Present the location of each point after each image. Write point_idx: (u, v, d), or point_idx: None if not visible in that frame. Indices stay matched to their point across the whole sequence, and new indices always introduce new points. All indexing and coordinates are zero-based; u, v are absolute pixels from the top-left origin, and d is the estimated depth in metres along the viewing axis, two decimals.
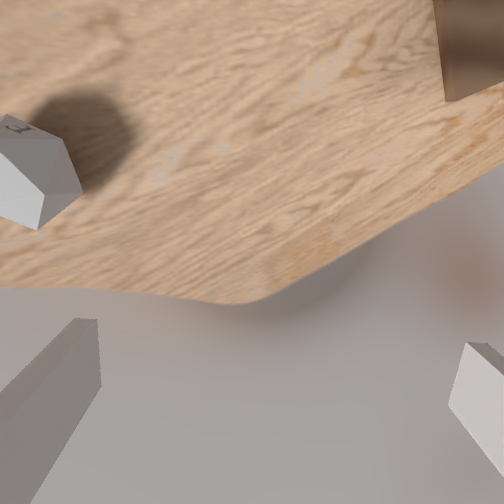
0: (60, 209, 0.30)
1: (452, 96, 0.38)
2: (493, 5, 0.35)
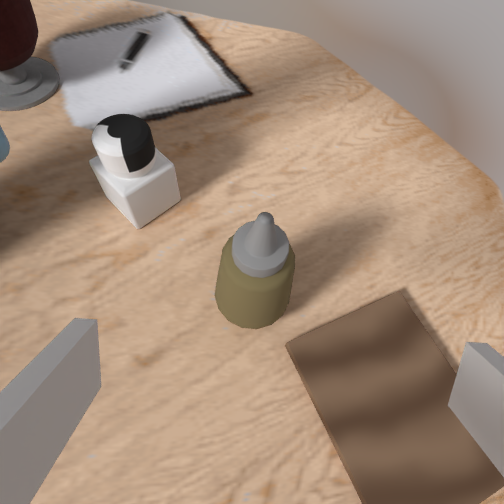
0: None
1: None
2: (394, 438, 0.33)
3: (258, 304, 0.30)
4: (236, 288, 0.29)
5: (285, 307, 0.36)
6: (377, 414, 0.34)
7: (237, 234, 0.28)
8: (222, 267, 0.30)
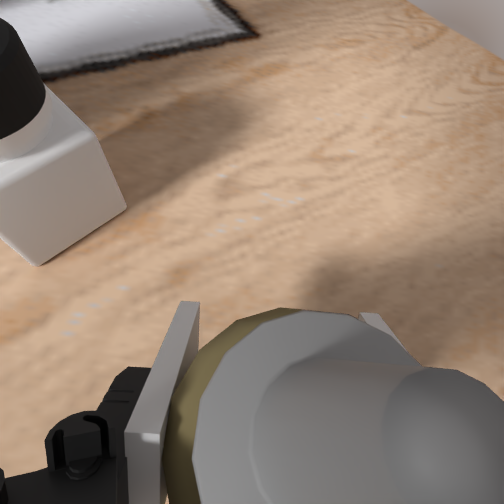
0: None
1: None
2: None
3: None
4: None
5: None
6: None
7: (219, 388, 0.06)
8: None
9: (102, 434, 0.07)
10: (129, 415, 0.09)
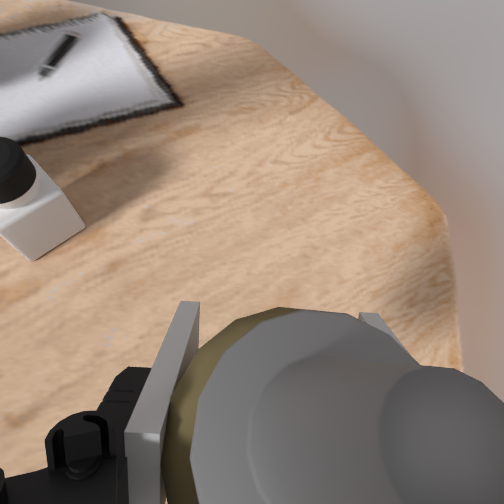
0: None
1: None
2: None
3: None
4: None
5: None
6: None
7: (217, 387, 0.06)
8: None
9: (102, 434, 0.07)
10: (129, 415, 0.09)
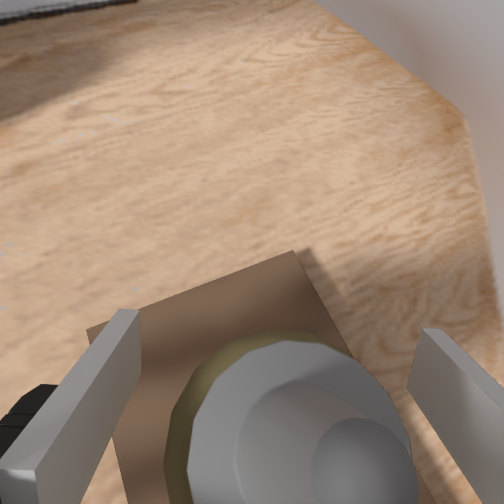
0: None
1: None
2: None
3: None
4: None
5: None
6: None
7: (210, 410, 0.07)
8: None
9: None
10: None
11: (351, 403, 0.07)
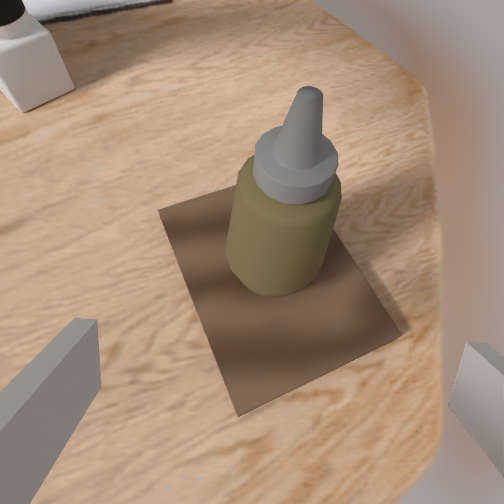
0: None
1: (235, 409, 0.26)
2: (261, 300, 0.30)
3: (288, 252, 0.21)
4: (259, 223, 0.20)
5: (320, 266, 0.27)
6: None
7: (261, 141, 0.19)
8: (238, 196, 0.21)
9: None
10: None
11: None
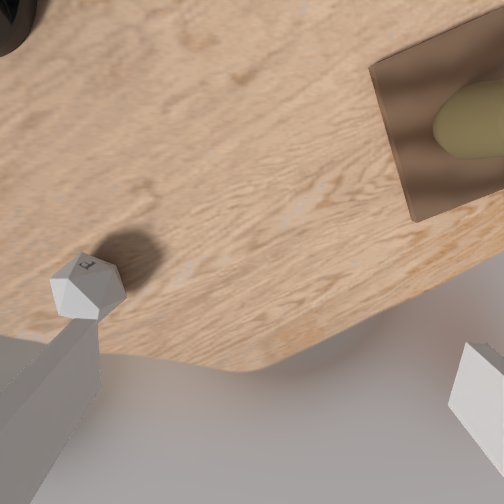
0: (111, 310, 0.45)
1: (414, 218, 0.45)
2: (443, 150, 0.42)
3: None
4: (502, 147, 0.31)
5: None
6: None
7: None
8: (494, 125, 0.31)
9: None
10: None
11: None
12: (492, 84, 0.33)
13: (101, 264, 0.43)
